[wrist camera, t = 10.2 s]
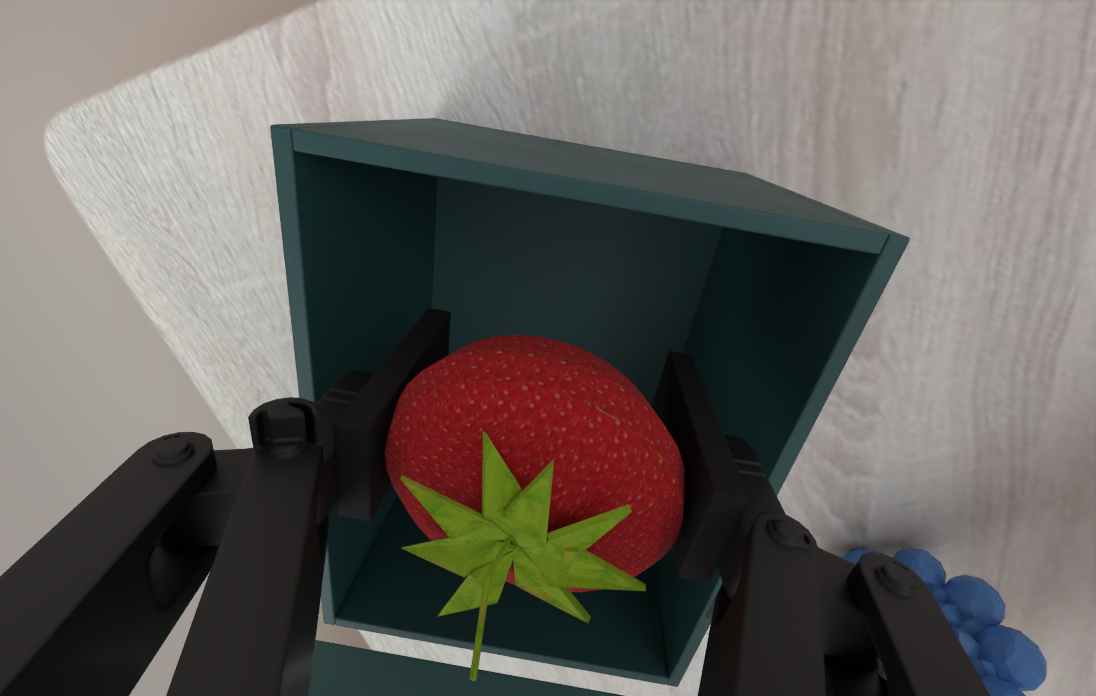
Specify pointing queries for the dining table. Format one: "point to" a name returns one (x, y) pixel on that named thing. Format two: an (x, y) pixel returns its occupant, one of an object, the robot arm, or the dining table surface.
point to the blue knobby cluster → (978, 625)
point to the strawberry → (534, 473)
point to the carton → (562, 331)
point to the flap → (415, 677)
